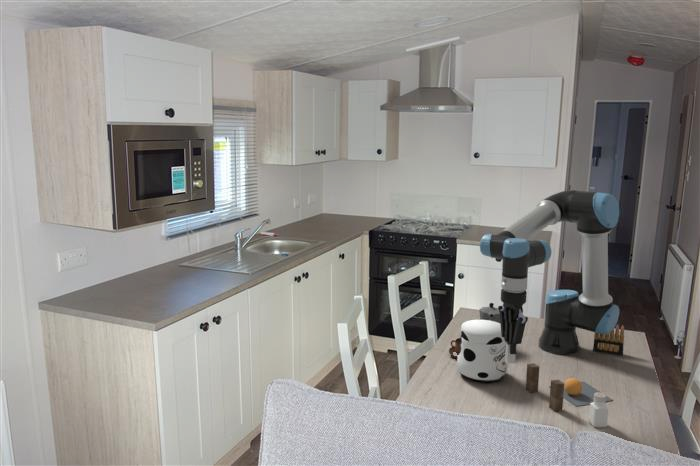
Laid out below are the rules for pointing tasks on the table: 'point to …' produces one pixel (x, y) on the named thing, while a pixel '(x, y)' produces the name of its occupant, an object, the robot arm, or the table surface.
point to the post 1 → (532, 378)
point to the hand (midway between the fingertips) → (509, 362)
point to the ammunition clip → (610, 342)
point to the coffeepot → (490, 313)
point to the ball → (573, 386)
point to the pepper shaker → (598, 411)
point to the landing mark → (583, 395)
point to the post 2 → (556, 395)
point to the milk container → (482, 351)
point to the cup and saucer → (455, 347)
